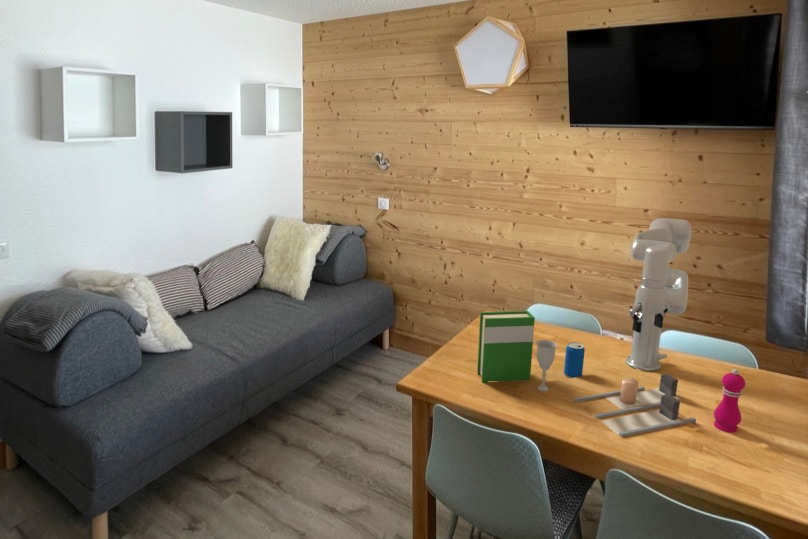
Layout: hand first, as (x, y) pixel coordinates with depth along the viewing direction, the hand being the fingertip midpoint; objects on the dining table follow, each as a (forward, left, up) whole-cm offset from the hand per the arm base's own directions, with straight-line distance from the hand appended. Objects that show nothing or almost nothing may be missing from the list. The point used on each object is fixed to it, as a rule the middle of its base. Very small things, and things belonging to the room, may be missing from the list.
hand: (647, 328), depth 193 cm
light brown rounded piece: (+15, +11, -19) cm, 27 cm away
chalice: (+37, -5, -21) cm, 43 cm away
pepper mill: (-3, +33, -21) cm, 39 cm away
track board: (+18, +17, -21) cm, 33 cm away
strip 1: (+9, +11, -20) cm, 25 cm away
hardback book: (+44, -20, -21) cm, 53 cm away
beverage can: (+19, -13, -21) cm, 31 cm away
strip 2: (+20, +23, -20) cm, 37 cm away
